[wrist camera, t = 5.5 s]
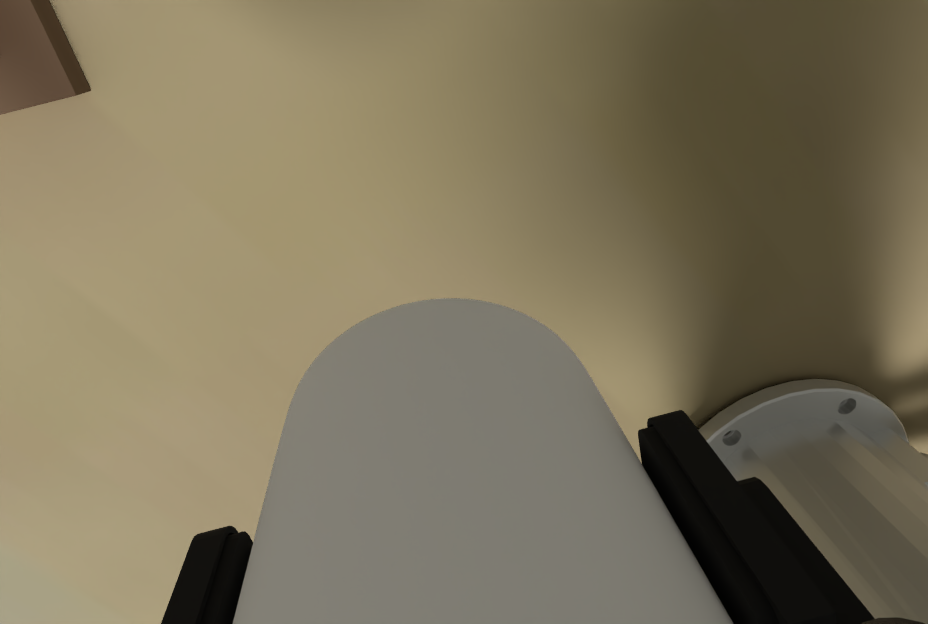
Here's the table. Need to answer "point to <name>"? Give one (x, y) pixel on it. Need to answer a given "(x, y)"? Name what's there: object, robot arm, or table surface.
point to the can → (462, 487)
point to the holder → (35, 57)
